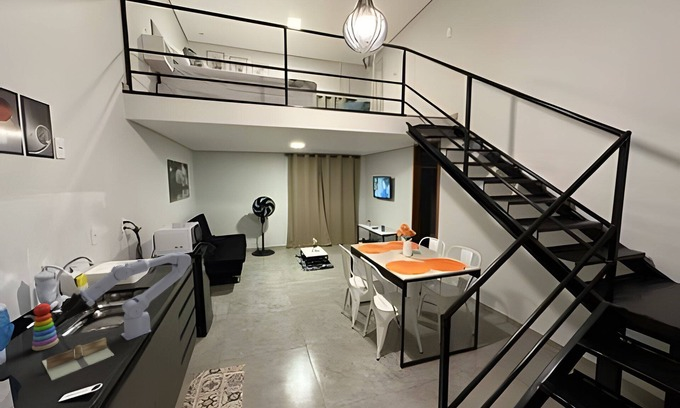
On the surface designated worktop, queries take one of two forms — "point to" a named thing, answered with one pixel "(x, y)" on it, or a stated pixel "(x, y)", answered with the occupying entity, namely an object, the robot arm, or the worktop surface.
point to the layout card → (77, 363)
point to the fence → (90, 348)
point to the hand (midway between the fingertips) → (63, 314)
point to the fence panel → (60, 358)
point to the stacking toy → (43, 328)
